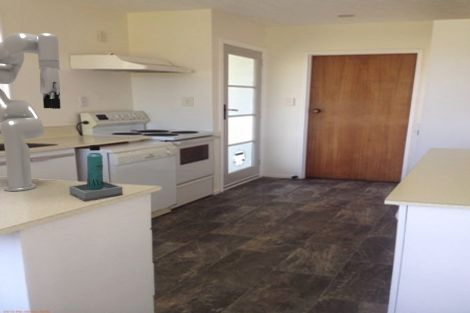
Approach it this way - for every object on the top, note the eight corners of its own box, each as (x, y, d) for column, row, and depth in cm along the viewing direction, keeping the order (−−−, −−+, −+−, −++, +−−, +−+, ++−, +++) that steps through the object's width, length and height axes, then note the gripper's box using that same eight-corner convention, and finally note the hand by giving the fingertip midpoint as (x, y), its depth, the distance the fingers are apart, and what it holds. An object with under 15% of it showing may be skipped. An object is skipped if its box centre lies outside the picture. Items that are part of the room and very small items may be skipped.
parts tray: (69, 194, 165) (69, 186, 164) (105, 188, 176) (105, 181, 175) (85, 201, 153) (84, 192, 153) (122, 194, 164) (122, 186, 164)
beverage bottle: (84, 193, 162) (82, 145, 159) (93, 190, 168) (92, 144, 166) (98, 194, 161) (97, 146, 158) (106, 191, 167) (105, 144, 164)
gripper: (32, 66, 160) (35, 108, 163) (46, 63, 148) (49, 109, 150) (51, 67, 166) (54, 108, 168) (66, 64, 153) (69, 108, 156)
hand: (52, 108), depth 159 cm, fingers open, 9 cm apart
